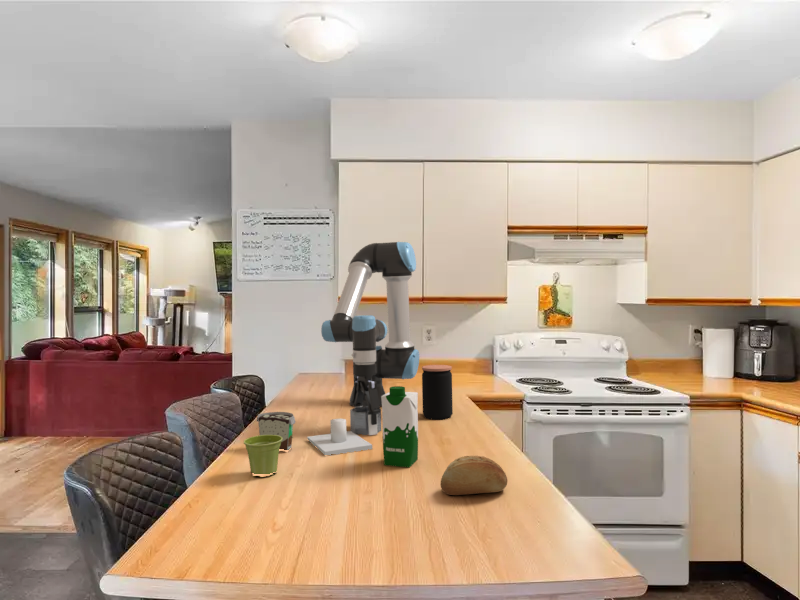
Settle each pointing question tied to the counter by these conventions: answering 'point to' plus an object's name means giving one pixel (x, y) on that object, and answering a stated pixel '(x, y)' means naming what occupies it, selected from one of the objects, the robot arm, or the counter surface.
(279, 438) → the plant pot
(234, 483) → the counter surface
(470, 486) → the bread roll
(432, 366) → the coffee jar
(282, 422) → the food container
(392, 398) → the milk carton
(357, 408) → the collar
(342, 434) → the panel
